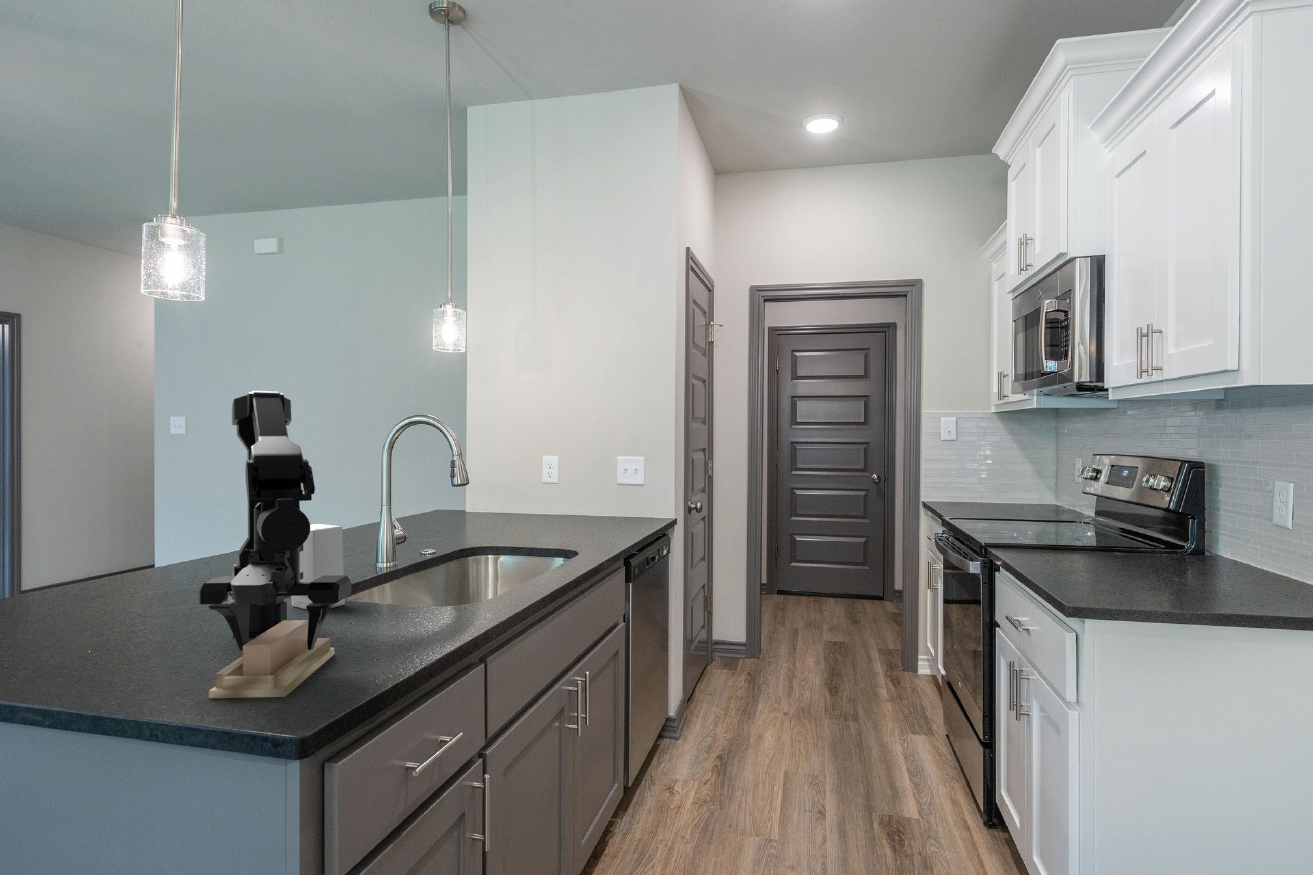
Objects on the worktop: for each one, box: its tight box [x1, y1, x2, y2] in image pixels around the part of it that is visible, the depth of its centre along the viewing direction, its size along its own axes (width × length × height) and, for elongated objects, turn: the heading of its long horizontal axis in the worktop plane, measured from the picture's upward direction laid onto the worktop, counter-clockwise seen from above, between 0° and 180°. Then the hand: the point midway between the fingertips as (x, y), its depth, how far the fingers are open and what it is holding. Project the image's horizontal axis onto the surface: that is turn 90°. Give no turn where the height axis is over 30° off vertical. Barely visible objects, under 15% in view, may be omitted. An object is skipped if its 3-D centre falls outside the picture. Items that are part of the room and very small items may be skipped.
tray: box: [208, 637, 336, 699], centre depth 100 cm, size 10×17×3 cm, turn 4°
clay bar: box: [242, 619, 309, 676], centre depth 100 cm, size 4×12×5 cm, turn 4°
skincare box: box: [291, 523, 346, 610], centre depth 137 cm, size 8×7×16 cm
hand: (277, 649), depth 100 cm, fingers open, 9 cm apart
